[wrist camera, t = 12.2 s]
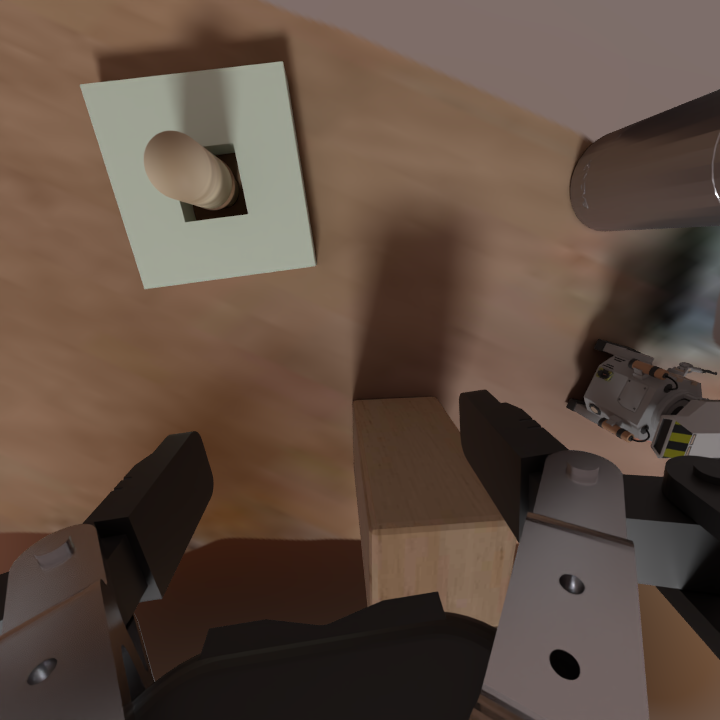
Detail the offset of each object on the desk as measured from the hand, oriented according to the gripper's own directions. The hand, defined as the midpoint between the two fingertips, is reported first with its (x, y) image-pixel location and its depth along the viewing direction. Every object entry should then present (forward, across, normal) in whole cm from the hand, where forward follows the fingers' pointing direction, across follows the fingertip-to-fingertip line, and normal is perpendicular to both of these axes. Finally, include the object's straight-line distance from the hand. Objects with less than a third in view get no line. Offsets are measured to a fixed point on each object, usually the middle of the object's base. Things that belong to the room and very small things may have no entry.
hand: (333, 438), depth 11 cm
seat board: (+28, +9, -12) cm, 32 cm away
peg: (+28, +9, -12) cm, 32 cm away
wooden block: (+28, -5, +17) cm, 33 cm away
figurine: (+28, -32, +14) cm, 45 cm away
